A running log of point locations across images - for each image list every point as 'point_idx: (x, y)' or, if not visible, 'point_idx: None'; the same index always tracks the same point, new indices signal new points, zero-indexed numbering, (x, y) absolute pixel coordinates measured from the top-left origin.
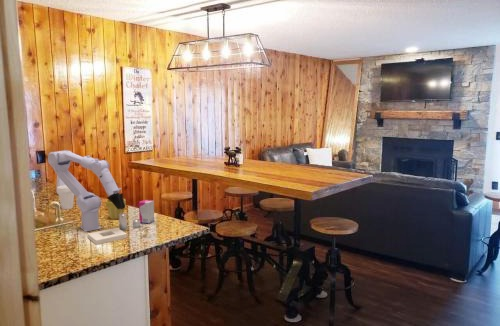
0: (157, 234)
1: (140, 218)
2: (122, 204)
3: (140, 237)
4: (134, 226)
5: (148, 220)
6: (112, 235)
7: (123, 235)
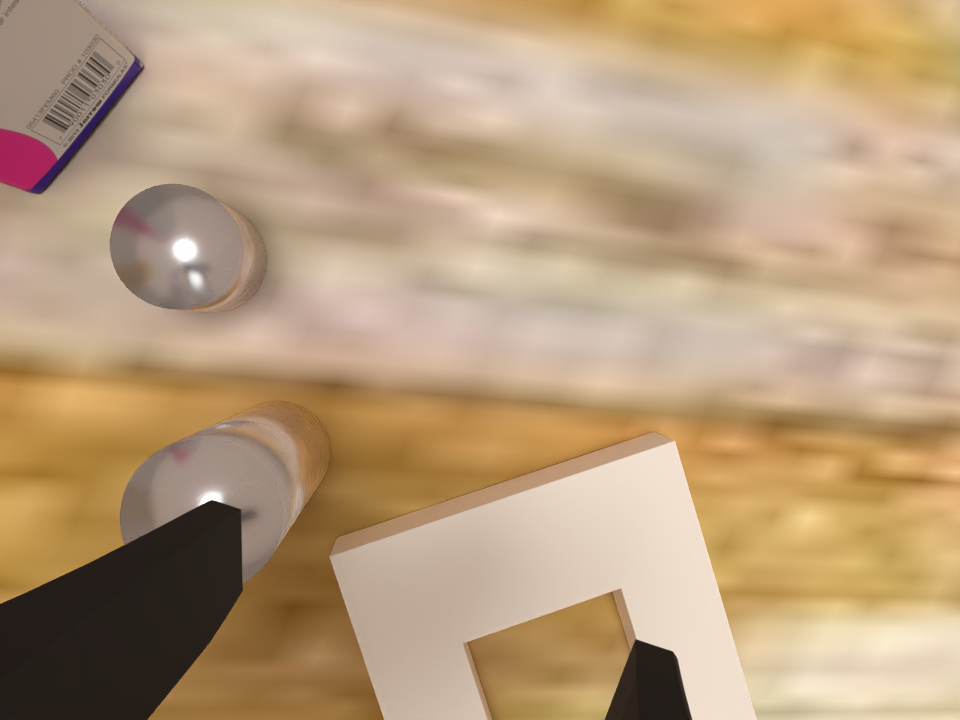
0: (665, 47)
1: (2, 160)
2: (161, 605)
3: (696, 273)
4: (246, 295)
5: (109, 47)
6: (669, 627)
7: (684, 485)
